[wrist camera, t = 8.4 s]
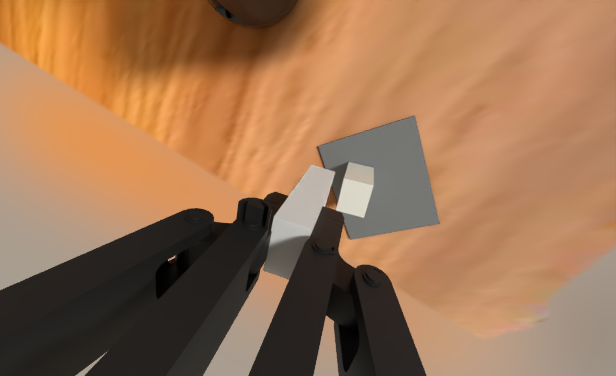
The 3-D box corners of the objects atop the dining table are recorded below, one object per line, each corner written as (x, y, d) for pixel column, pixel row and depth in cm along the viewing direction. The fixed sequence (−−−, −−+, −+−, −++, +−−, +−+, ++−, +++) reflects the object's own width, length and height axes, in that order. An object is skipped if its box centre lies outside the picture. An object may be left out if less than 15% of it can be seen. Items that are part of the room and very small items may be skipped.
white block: (342, 189, 44) (335, 210, 37) (349, 161, 42) (343, 178, 35) (365, 195, 44) (363, 217, 36) (373, 167, 41) (373, 185, 34)
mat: (318, 145, 43) (318, 146, 42) (414, 115, 38) (414, 115, 37) (350, 238, 48) (350, 239, 47) (438, 222, 43) (439, 223, 42)
